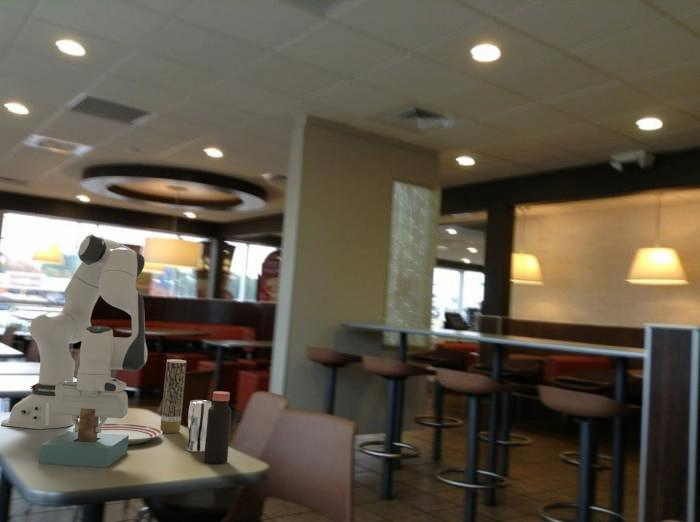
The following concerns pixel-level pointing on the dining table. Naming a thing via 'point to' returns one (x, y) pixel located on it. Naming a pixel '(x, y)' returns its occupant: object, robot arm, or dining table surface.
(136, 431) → the dinner plate
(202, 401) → the silver drink can
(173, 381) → the paper tube
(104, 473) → the dining table surface
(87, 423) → the walnut peg
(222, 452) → the bottle
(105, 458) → the socket block
